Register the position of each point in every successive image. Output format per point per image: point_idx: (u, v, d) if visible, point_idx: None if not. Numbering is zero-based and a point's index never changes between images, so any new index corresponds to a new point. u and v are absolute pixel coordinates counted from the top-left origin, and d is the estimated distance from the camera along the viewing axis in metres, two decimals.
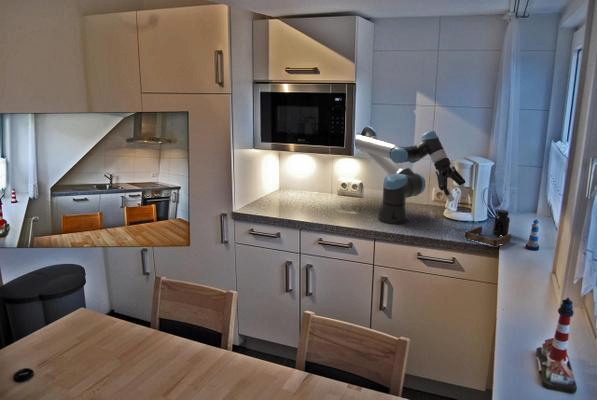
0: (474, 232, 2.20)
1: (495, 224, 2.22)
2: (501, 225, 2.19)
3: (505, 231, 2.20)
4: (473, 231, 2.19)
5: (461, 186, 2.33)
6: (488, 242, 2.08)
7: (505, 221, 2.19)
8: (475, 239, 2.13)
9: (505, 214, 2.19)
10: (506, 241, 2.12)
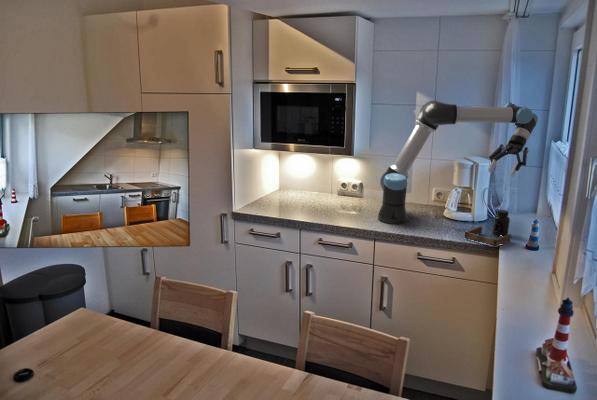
0: (474, 232, 2.20)
1: (495, 224, 2.22)
2: (501, 225, 2.19)
3: (505, 231, 2.20)
4: (473, 231, 2.19)
5: (494, 162, 2.36)
6: (488, 242, 2.08)
7: (505, 221, 2.19)
8: (475, 239, 2.13)
9: (505, 214, 2.19)
10: (506, 241, 2.12)
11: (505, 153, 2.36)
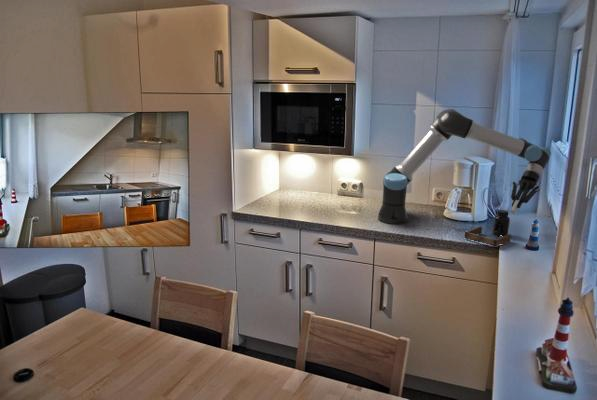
0: (474, 232, 2.20)
1: (495, 224, 2.22)
2: (501, 225, 2.19)
3: (505, 231, 2.20)
4: (473, 231, 2.19)
5: None
6: (488, 242, 2.08)
7: (505, 221, 2.19)
8: (475, 239, 2.13)
9: (505, 214, 2.19)
10: (506, 241, 2.12)
11: (522, 190, 2.31)
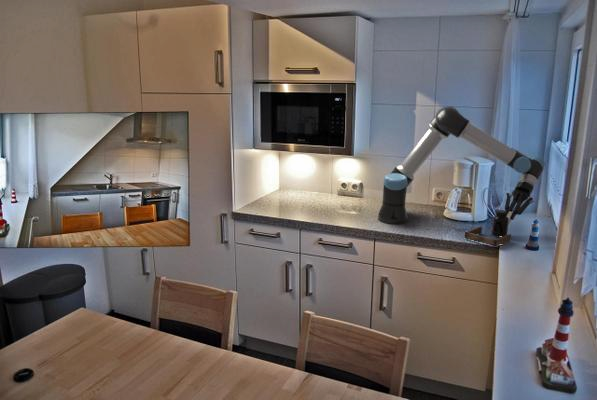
0: (474, 232, 2.20)
1: (494, 224, 2.21)
2: (500, 225, 2.18)
3: (504, 231, 2.19)
4: (473, 231, 2.19)
5: None
6: (488, 242, 2.08)
7: (504, 222, 2.18)
8: (475, 239, 2.13)
9: (504, 214, 2.18)
10: (506, 241, 2.12)
11: (516, 201, 2.28)
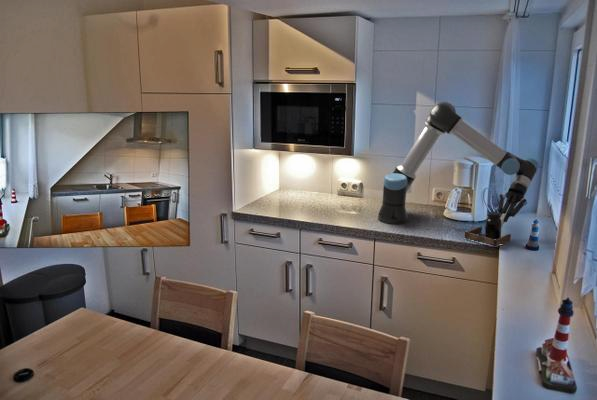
0: (474, 232, 2.20)
1: (486, 227, 2.17)
2: (491, 228, 2.15)
3: (496, 234, 2.15)
4: (473, 231, 2.19)
5: None
6: (488, 242, 2.08)
7: (495, 224, 2.14)
8: (475, 239, 2.13)
9: (495, 217, 2.13)
10: (506, 241, 2.12)
11: (509, 203, 2.24)
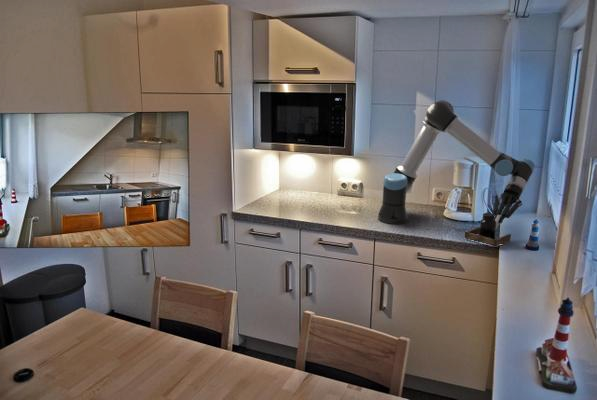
0: (474, 232, 2.20)
1: (480, 228, 2.16)
2: (486, 229, 2.13)
3: (490, 235, 2.13)
4: (473, 231, 2.19)
5: None
6: (488, 242, 2.08)
7: (490, 225, 2.12)
8: (475, 239, 2.13)
9: (489, 218, 2.12)
10: (506, 241, 2.12)
11: (504, 204, 2.22)
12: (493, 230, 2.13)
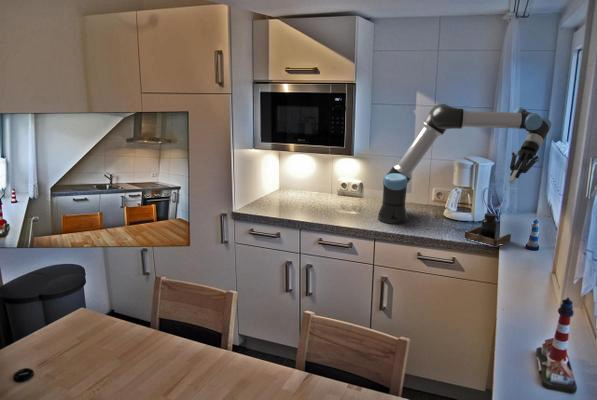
0: (474, 232, 2.20)
1: (481, 227, 2.16)
2: (487, 228, 2.13)
3: (491, 235, 2.14)
4: (473, 231, 2.19)
5: None
6: (488, 242, 2.08)
7: (491, 225, 2.12)
8: (475, 239, 2.13)
9: (491, 218, 2.13)
10: (506, 241, 2.12)
11: (521, 160, 2.28)
12: (494, 230, 2.13)
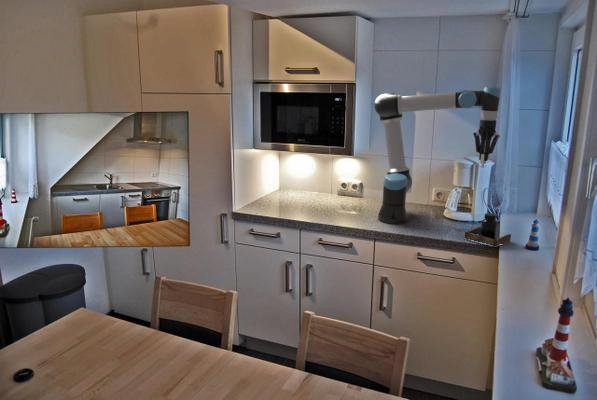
0: (474, 232, 2.20)
1: (481, 227, 2.16)
2: (487, 228, 2.13)
3: (491, 235, 2.14)
4: (473, 231, 2.19)
5: None
6: (488, 242, 2.08)
7: (491, 225, 2.12)
8: (475, 239, 2.13)
9: (491, 218, 2.13)
10: (506, 241, 2.12)
11: (484, 139, 2.31)
12: (494, 230, 2.13)
